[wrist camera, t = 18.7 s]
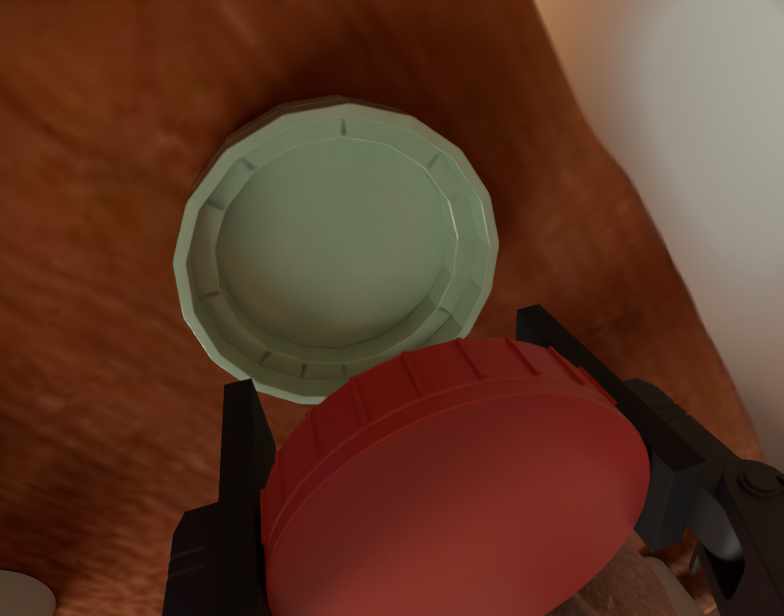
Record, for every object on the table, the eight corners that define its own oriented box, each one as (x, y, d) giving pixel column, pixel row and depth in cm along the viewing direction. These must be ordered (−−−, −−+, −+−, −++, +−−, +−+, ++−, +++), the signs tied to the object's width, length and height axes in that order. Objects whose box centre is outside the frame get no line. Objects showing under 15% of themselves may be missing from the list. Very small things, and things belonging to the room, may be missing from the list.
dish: (324, 405, 29) (334, 447, 26) (111, 240, 21) (89, 274, 18) (513, 254, 27) (546, 281, 24) (354, 16, 19) (374, 13, 16)
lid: (206, 397, 9) (197, 477, 7) (621, 291, 10) (690, 339, 8) (305, 630, 13) (313, 710, 11) (584, 535, 14) (624, 595, 13)
